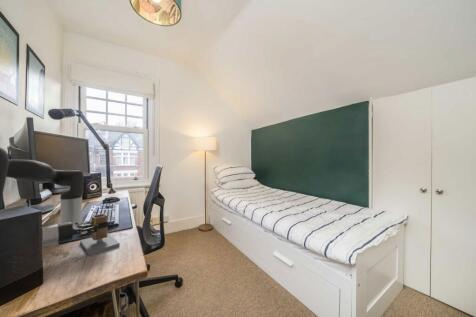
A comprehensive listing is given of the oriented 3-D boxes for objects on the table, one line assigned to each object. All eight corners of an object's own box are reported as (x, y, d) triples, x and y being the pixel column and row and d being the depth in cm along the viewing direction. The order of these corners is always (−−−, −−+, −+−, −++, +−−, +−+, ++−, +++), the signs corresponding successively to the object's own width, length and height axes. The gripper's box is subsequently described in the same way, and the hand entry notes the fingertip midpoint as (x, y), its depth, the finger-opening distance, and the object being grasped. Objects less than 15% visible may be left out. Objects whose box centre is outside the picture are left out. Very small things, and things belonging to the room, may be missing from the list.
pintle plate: (80, 243, 86) (80, 227, 86) (108, 235, 94) (108, 221, 94) (89, 256, 75) (89, 238, 75) (119, 246, 83) (119, 230, 83)
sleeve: (91, 237, 84) (91, 215, 84) (104, 234, 88) (104, 213, 88) (94, 240, 81) (94, 218, 81) (107, 237, 85) (107, 215, 85)
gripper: (58, 229, 69) (111, 218, 82) (53, 220, 78) (102, 212, 91) (58, 249, 69) (111, 234, 82) (53, 238, 78) (101, 227, 91)
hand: (106, 222), depth 86 cm, fingers closed on sleeve, 5 cm apart
